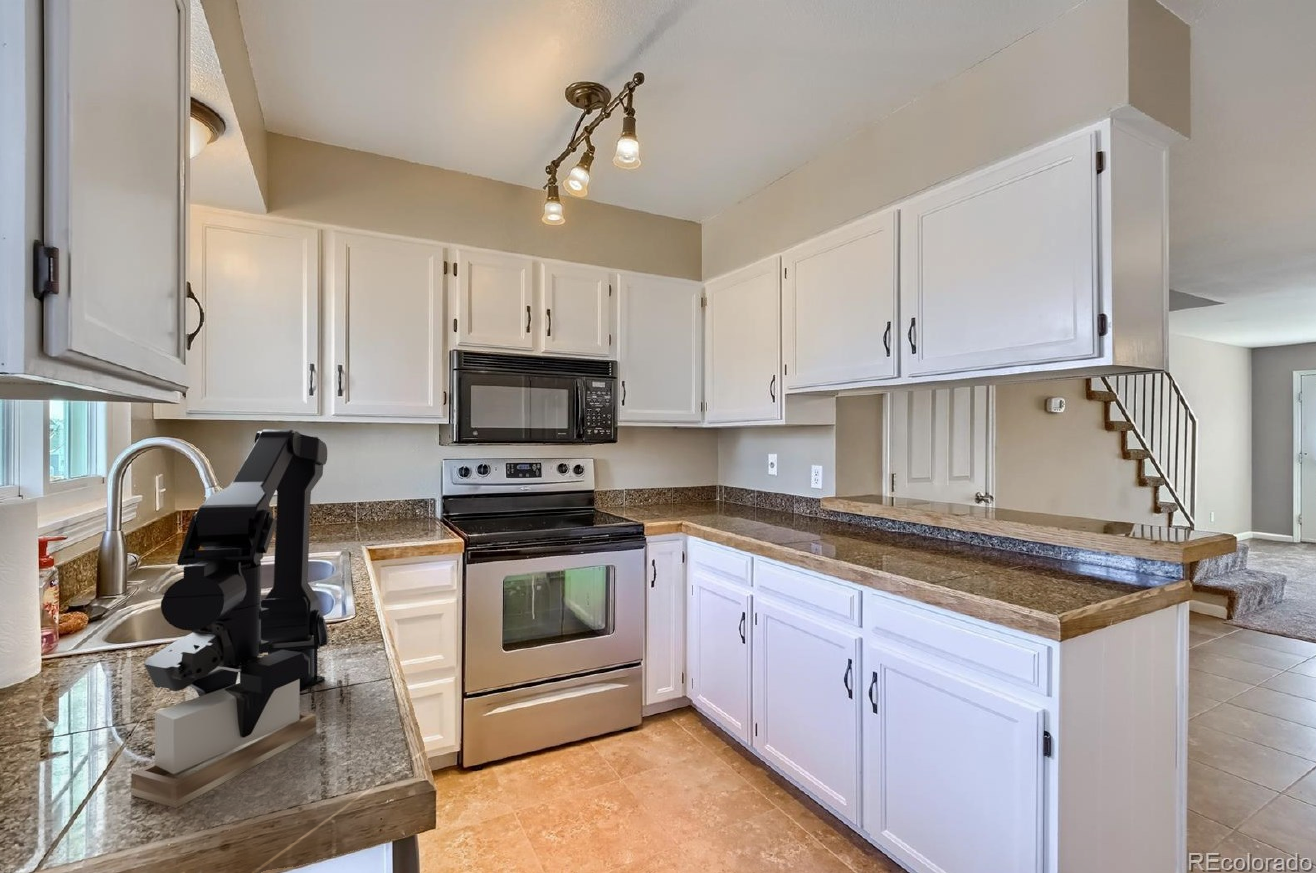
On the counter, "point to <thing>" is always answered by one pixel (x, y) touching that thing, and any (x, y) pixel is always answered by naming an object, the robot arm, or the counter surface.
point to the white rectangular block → (215, 726)
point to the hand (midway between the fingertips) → (232, 732)
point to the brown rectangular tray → (217, 766)
